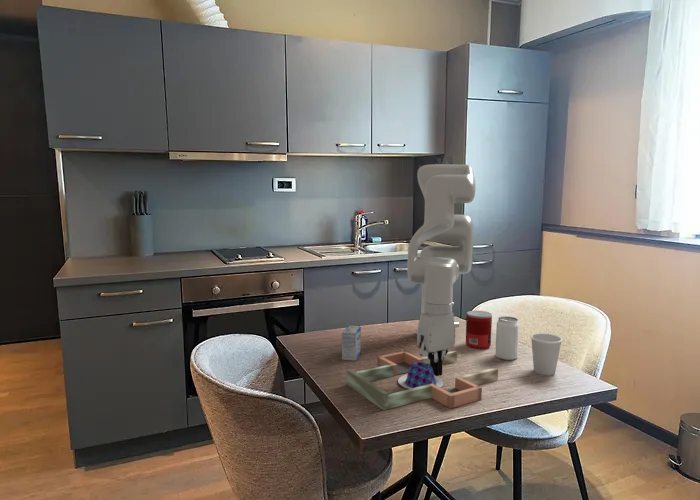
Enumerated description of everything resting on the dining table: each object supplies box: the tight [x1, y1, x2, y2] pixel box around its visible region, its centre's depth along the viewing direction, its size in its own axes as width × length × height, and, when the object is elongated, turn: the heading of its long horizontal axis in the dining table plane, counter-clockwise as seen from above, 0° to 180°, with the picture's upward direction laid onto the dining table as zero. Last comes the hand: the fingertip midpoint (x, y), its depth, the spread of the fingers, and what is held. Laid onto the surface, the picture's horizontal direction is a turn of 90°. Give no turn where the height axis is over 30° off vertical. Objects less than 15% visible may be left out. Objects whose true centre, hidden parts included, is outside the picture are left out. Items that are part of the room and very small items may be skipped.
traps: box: [376, 350, 483, 409], centre depth 134 cm, size 10×31×3 cm, turn 30°
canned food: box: [465, 310, 493, 350], centre depth 163 cm, size 8×8×11 cm
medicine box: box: [341, 325, 362, 362], centre depth 153 cm, size 8×4×9 cm, turn 168°
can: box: [494, 316, 520, 361], centre depth 153 cm, size 6×6×12 cm
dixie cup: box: [530, 332, 563, 376], centre depth 141 cm, size 8×8×10 cm
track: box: [346, 350, 499, 411], centre depth 134 cm, size 37×17×4 cm, turn 120°
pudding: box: [397, 362, 445, 390], centre depth 133 cm, size 12×12×5 cm
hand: (435, 374), depth 136 cm, fingers closed
